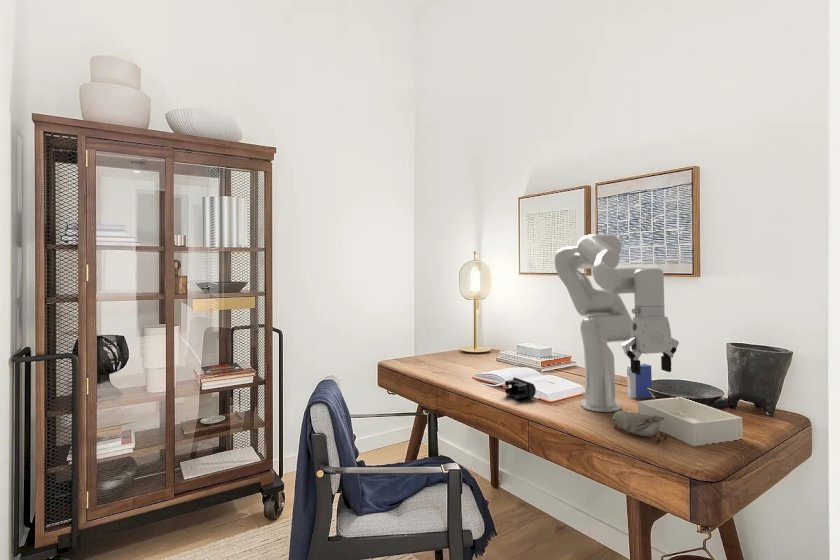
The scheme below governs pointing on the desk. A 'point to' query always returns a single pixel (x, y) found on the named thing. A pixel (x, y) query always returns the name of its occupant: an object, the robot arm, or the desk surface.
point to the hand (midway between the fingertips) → (651, 372)
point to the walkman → (639, 382)
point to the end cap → (520, 390)
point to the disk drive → (718, 403)
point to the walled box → (693, 421)
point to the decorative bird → (638, 423)
